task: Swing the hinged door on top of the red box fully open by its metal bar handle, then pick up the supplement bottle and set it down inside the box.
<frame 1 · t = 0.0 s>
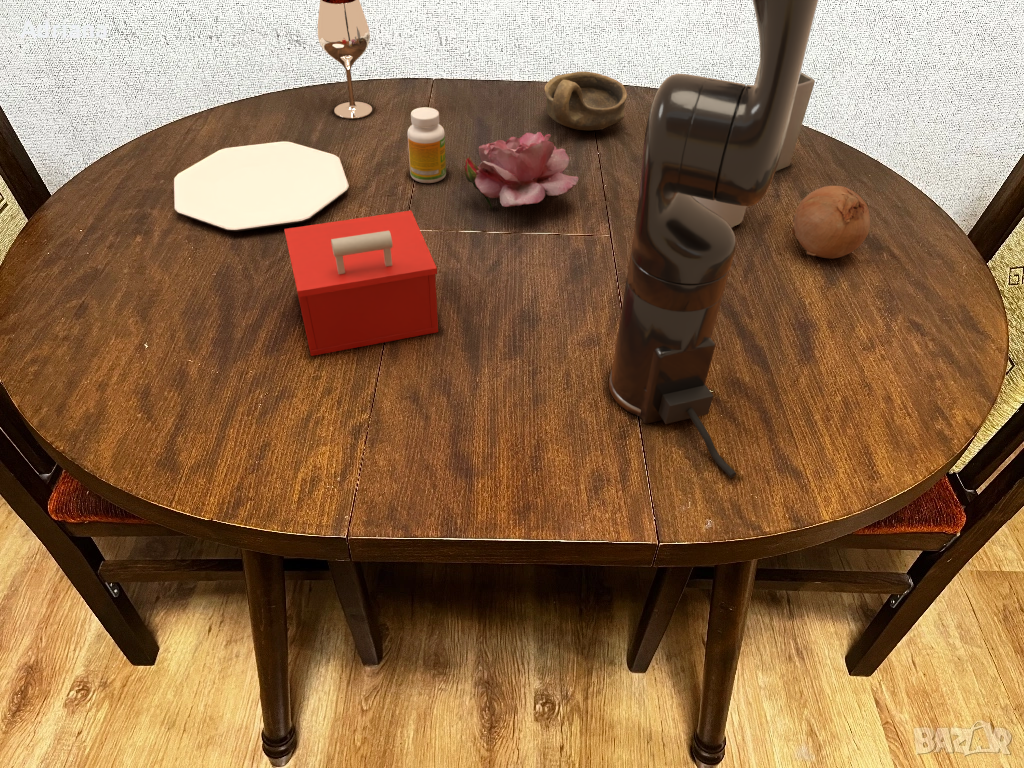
bowl: (578, 128, 128), on the table
flower: (520, 202, 110), on the table
planter: (763, 162, 121), on the table
onion: (820, 251, 103), on the table
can: (714, 220, 108), on the table
red box: (366, 314, 91), on the table
supplement bottle: (428, 176, 115), on the table
wineglass: (353, 112, 130), on the table
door: (356, 235, 82), point 11 cm above the table, hinge at 0.0°
plate: (263, 191, 111), on the table
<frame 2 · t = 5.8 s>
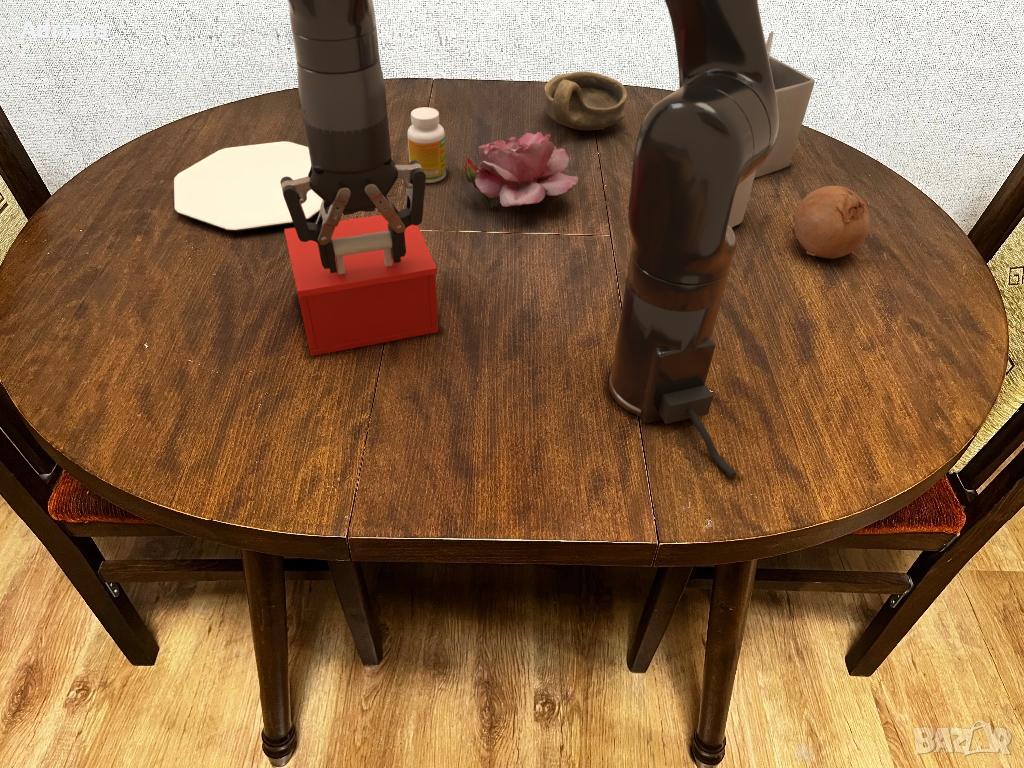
hand: (364, 263, 80), 10 cm above the table, tool pointing down, fingers closed on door, 6 cm apart
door: (356, 235, 82), point 11 cm above the table, hinge at -0.1°, touching gripper
everything else where it was.
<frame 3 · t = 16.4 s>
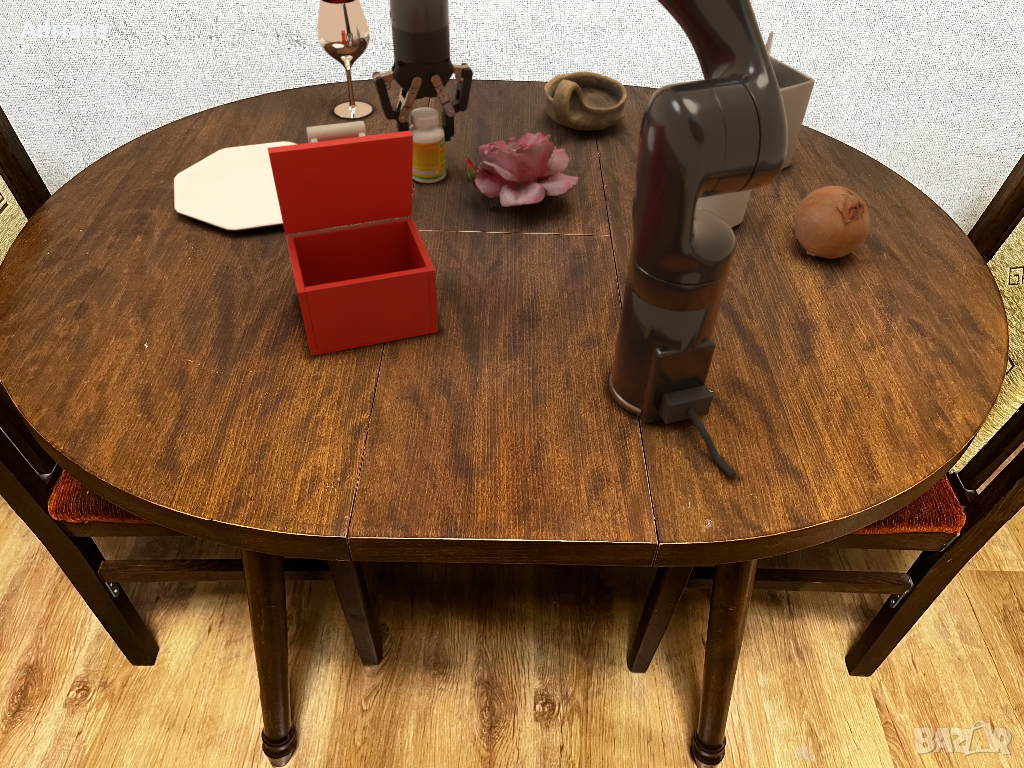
hand: (426, 141, 111), 5 cm above the table, tool pointing down, fingers closed on supplement bottle, 5 cm apart
supplement bottle: (428, 176, 115), on the table, touching gripper
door: (342, 171, 84), point 16 cm above the table, hinge at 73.0°
everything else where it was.
when the fingers open (6 cm above the table, at t = 27.5 s): supplement bottle stays where it is, resting on red box.
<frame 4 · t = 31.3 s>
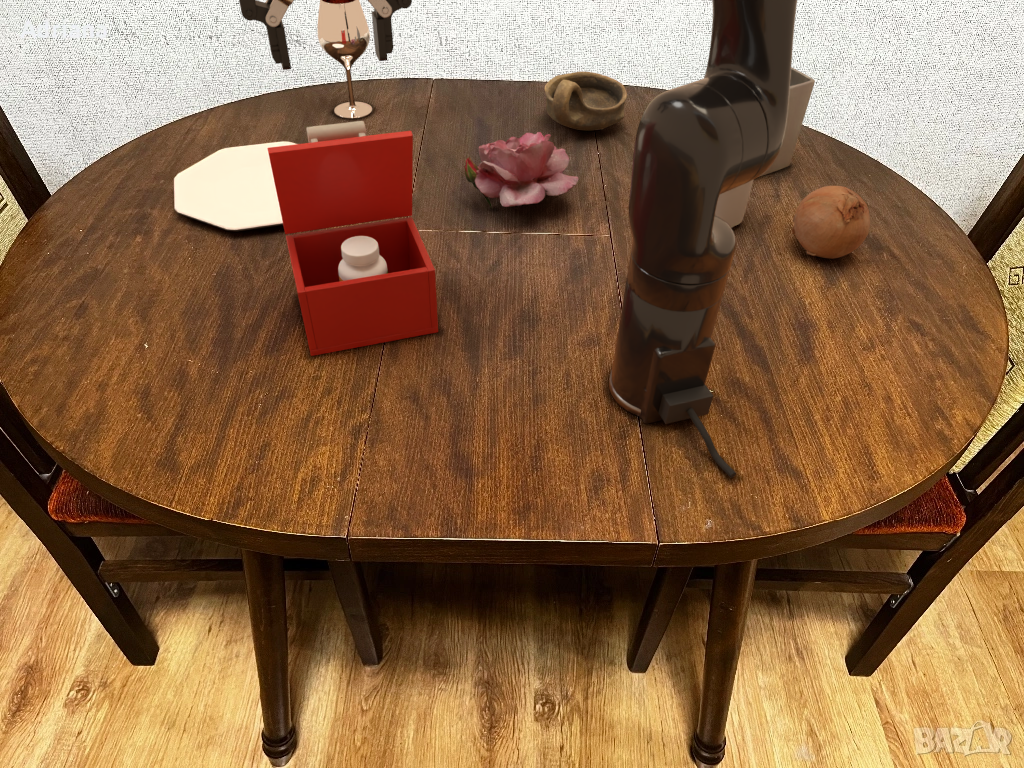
hand: (334, 62, 69), 30 cm above the table, tool pointing down, fingers open, 8 cm apart
supplement bottle: (369, 317, 89), point 1 cm above the table, touching red box
everything else where it was.
at the end: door at +73° (first picture: +0°); supplement bottle inside the target area in the red box (1.3 cm from its centre), point 0.6 cm above the red box's base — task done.
